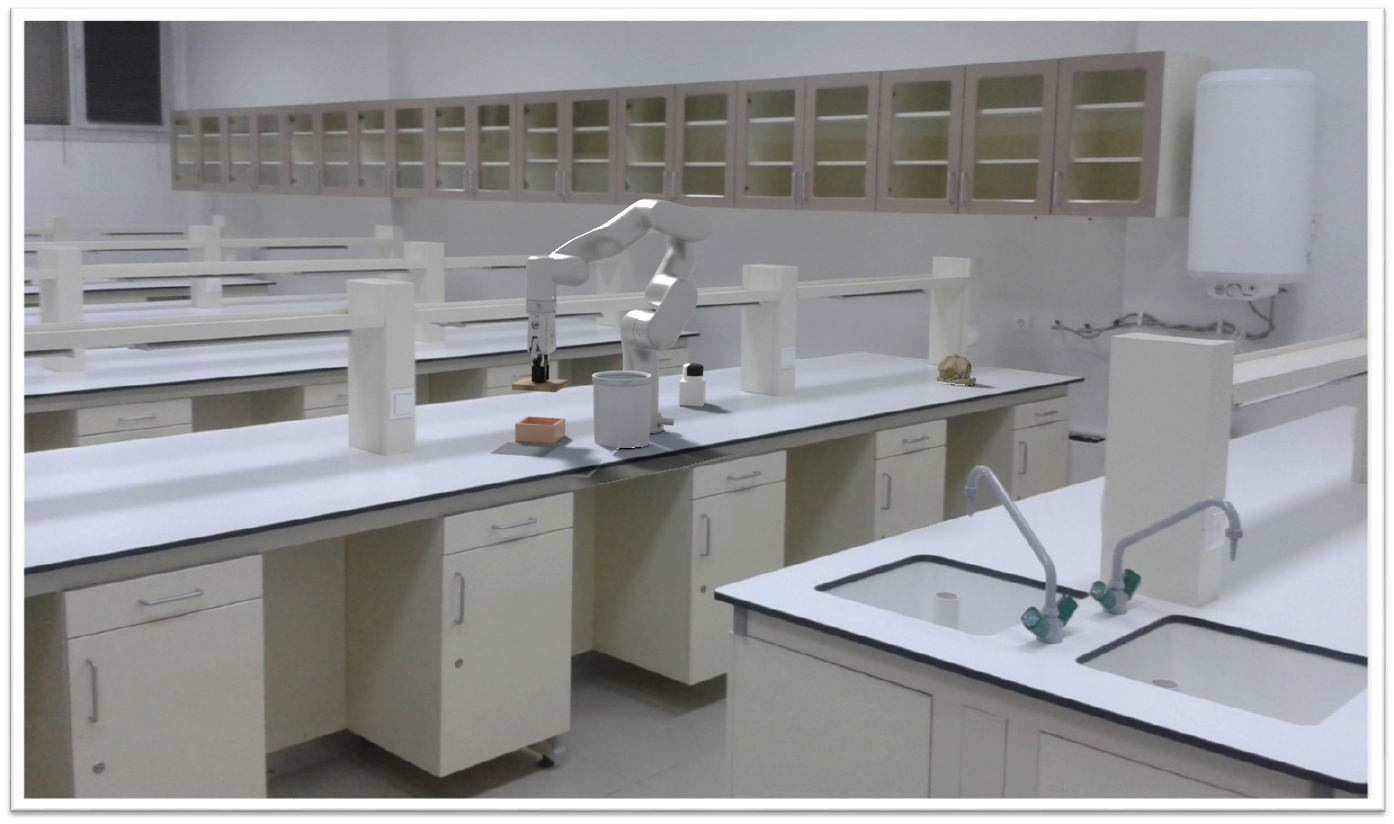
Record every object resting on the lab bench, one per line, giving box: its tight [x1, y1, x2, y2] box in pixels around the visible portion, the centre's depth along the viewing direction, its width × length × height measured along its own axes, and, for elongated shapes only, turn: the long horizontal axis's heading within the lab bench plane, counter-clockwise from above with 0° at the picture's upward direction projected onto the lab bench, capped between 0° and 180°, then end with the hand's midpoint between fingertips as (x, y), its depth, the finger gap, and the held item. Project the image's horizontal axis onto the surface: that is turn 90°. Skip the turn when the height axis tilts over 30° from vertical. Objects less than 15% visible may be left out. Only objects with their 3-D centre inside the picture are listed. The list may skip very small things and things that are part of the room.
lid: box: [511, 359, 568, 393], centre depth 312 cm, size 11×11×7 cm
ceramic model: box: [934, 353, 977, 385], centre depth 423 cm, size 14×11×10 cm
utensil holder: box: [591, 370, 652, 448], centre depth 313 cm, size 15×15×18 cm
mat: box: [490, 441, 559, 458], centre depth 303 cm, size 13×13×1 cm
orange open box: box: [514, 415, 566, 445], centre depth 315 cm, size 10×10×5 cm
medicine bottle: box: [678, 362, 707, 408], centre depth 370 cm, size 7×7×12 cm
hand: (540, 380), depth 312 cm, fingers closed on lid, 3 cm apart
